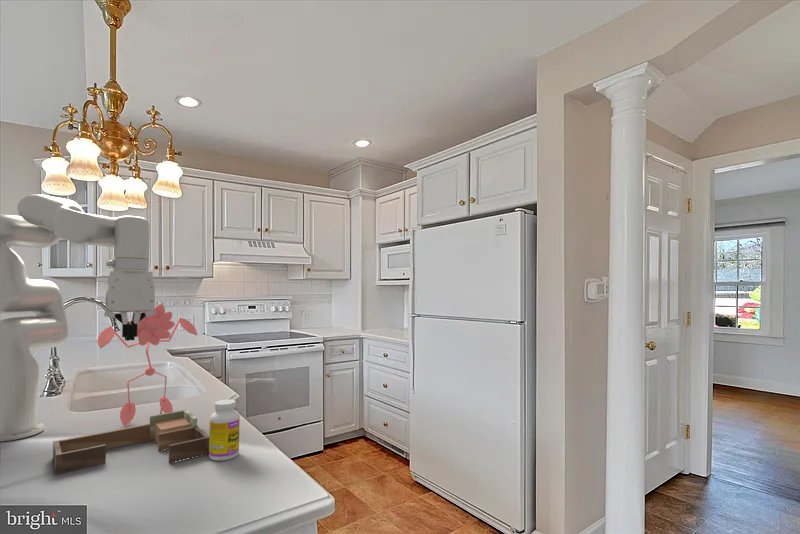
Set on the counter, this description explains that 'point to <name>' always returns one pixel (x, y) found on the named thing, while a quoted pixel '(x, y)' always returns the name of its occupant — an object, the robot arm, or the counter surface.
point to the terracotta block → (170, 426)
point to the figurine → (147, 332)
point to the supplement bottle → (224, 431)
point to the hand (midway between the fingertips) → (129, 339)
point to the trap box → (94, 446)
